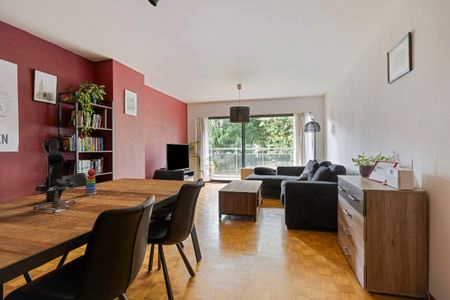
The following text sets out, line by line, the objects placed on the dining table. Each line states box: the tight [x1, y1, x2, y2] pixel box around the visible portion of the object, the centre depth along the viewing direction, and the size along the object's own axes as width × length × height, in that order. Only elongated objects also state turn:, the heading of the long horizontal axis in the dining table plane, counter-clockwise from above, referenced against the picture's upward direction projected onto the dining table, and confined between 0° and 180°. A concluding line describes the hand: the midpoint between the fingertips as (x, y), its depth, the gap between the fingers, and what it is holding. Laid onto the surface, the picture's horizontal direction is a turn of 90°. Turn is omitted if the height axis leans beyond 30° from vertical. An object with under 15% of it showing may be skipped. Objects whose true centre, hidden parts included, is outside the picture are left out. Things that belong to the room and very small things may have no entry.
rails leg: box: [33, 204, 69, 214], centre depth 134 cm, size 17×8×2 cm, turn 69°
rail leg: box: [32, 198, 77, 211], centre depth 141 cm, size 8×20×2 cm, turn 159°
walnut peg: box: [51, 190, 60, 206], centre depth 141 cm, size 3×3×8 cm
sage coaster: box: [51, 208, 67, 213], centre depth 132 cm, size 5×5×1 cm
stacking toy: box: [83, 168, 97, 196], centre depth 177 cm, size 8×8×19 cm
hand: (55, 201), depth 141 cm, fingers closed on walnut peg, 3 cm apart
